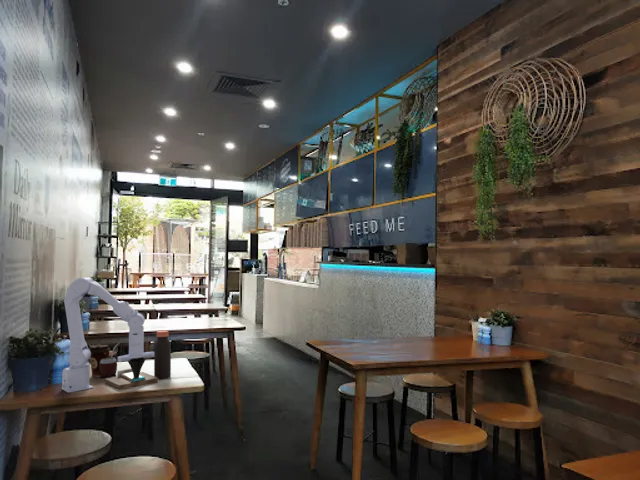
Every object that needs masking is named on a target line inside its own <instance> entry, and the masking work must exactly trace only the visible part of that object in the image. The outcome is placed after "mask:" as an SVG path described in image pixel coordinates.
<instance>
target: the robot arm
mask: <svg viewBox="0 0 640 480" xmlns="http://www.w3.org/2000/svg"><path fill="white" fill-rule="evenodd" d="M68 286H69V287H68V290H67V292H66V294H65V297H64V298H63V302H64V308H65V314H66V321H67V327H68V334H69V341H70V343H69V349H68V350H69V351H68V352H69V353H68V354H69V355H68V357H67V361H68V364H69V366H68V367H65V368H63V369H62V372H61V373H62V377H61V381H62V382H61V389H62V390H63V391H64V392H66V393H74V392H79V391H84V390H88V389H93V388H94V386H92V385H90V380H91V379H90V374H91V373H90V372H91V371H90V370H91V363H90V357H91V352H90V348H89V347H88V344H87V341H86V340H85V334H84V326H83V321H82V315H81V313H82V312H81V308H80V301H81V300H82V299H83V297H84V296H85V295H91V296H92V295H93V296H97V297H98V298H100V299H101V300H102V301H104V302H105V303H107V304H108V305H109V306H111V308H112V309H113V310H112V312H113V313H114V314H115V315H116V316H118V317H119V318H120V319H121V320H122V321H123V322H126V323H127V326H128V328H129V329H128V331H129V332H128V354H124V355H120V356H117V363H122V362H127V363H128V365H129V366H130V368H131V369H132V372H133V376H134V377H135V378H137V377H139V374H140V372H142V371H141V370H142V367H143V365H144V363H146V362H145V361H146V358H154V351H146V352H145V346H144V345H145V333H144V332H145V331H144V330H145V328H144V324H145V321H146V319H145V316H144V315H143V313H142V312H139V311H138V310H137V309H136V310H135V309H134V308H133V307H132V306H130V305H129V304H130V303H129V302H128V301H125V300H124V301H123V300H120V301H119V300H118V299H117V298H116V297H115V296H113V294H111V292H109V291H108V290H107V289H106V288H105V287H104V286H102V285H101V284H100V283H98V282H97V281H96V280H94V279H92V277H90V276H84V277H79V278H76V279H74V280H73V281H72V282H71V283H70V284H69V285H68Z"/></svg>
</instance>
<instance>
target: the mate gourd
mask: <svg viewBox="0 0 640 480" xmlns="http://www.w3.org/2000/svg"><path fill="white" fill-rule="evenodd" d="M119 344H121V342H118V343H117V344H115V346H114V347H113V348H112V353H111V355H110V356H109V357H108V358H105V359H104V358H103V359H102V360H101V361H100V364H99V368H100V374H101V376H100V379H104V378H105V379H106V378H112V377H117V372H118V360H117V359H116V357H113V355H114V352H115V351H116V347H118V346H119Z"/></svg>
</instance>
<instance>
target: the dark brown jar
mask: <svg viewBox="0 0 640 480" xmlns="http://www.w3.org/2000/svg"><path fill="white" fill-rule="evenodd" d="M89 350H90V352H91V357H90V359H89V363H90V370H91V376H92V377H97V378H98V377H100V378H101V374H100V368H99V364H100V361H101V360H102V359H103V358H104V359H105V358H108V357H110V351H111V348H110V347H109V345H108V344H95V345H91V346H90V348H89Z"/></svg>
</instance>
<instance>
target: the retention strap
mask: <svg viewBox="0 0 640 480" xmlns="http://www.w3.org/2000/svg"><path fill="white" fill-rule="evenodd" d="M121 376H123V377H125V378H128V379H130V380H132V381H133V382H135V381H140V380H145V377H144V376H140V375H139V377H137V378H135V377H134V376H133V372H128V373H122V374H121Z"/></svg>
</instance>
